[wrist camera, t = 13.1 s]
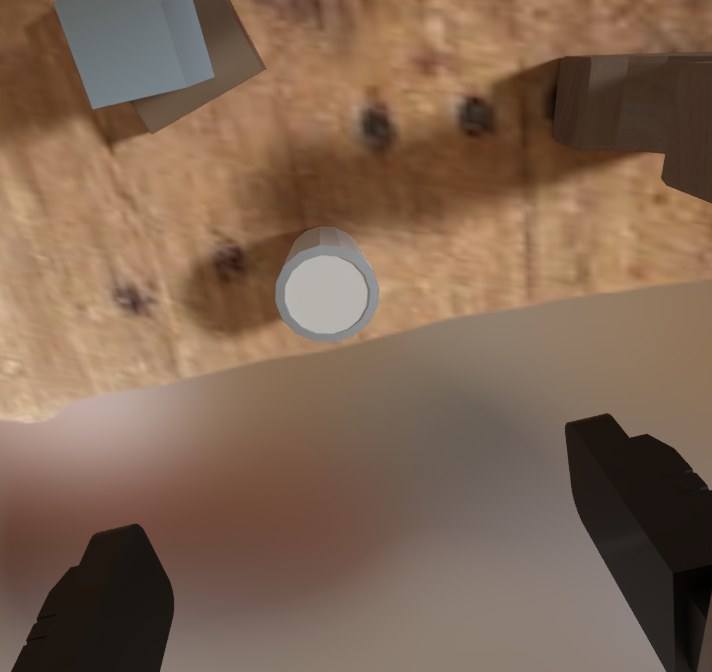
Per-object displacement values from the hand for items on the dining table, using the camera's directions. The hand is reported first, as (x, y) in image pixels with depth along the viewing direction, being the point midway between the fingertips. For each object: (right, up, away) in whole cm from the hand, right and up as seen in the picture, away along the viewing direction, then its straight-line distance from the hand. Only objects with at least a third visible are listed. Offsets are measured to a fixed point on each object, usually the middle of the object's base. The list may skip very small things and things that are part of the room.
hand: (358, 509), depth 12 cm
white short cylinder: (-2, +9, +36) cm, 37 cm away
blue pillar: (-11, +20, +26) cm, 35 cm away
